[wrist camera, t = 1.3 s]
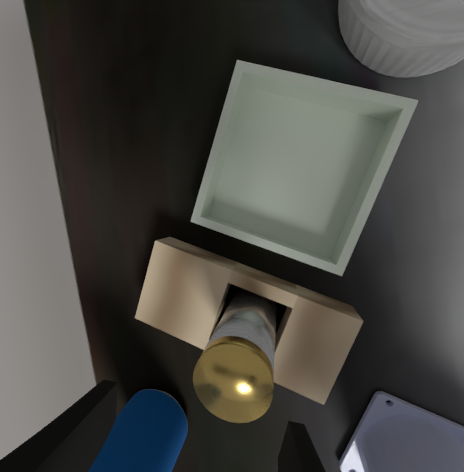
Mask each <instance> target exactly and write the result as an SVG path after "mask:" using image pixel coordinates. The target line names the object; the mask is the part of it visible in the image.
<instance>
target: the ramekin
mask: <svg viewBox="0 0 464 472" xmlns="http://www.w3.org/2000/svg"><path fill="white" fill-rule="evenodd" d="M338 16H339V26H340V31H341V34H342V36H343V39H344V42H345V44H346V45H347V47H348V49H349V51H350V52H351V53H352V54H353V56H354V57H355V58H356V59H357V60H359V61H360V62H361V63H362V64H363V65H365V66H366V67H368V68H369V69H371V70H373V71H375V72H377V73H380V74H383V75H386V76H393V77H404V78H408V77H419V76H423V75H428V74H432V73H434V72H437V71H442V70H444V69H446V68H448V67H449V66H453V65H455V64H457V63H458V62H460V61H462V60H463V59H464V0H339V5H338Z"/></svg>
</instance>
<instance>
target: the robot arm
mask: <svg viewBox="0 0 464 472" xmlns="http://www.w3.org/2000/svg"><path fill="white" fill-rule="evenodd" d="M117 387H118V383H117V382H113V381H108V380H102V381H101V382H100V383H99V384H97V385H96V386H95V387H94V388H93V389H91V390H90V391H89V392H88V393H87V394H85V395H84V396H83V397H82V398H81V399H79V400H78V401H77V402H76V403H74V404H73V405H72V406H71V407H69V408H68V409H67V410H66V411H65V412H63V413H62V414H61V415H60V416H58V417H57V418H56V419H54V421H52V422H51V423H49V424H48V425H47V426H45V427H44V428H43V429H42V430H41V431H39V432H38V433H36V434H35V435H34V436H32V437H31V438H30V439H28V440H27V441H26V442H24V443H23V444H22V445H20V446H19V447H18V448H16V449H15V450H13V451H12V452H11V453H9V454H8V455H7V456H6V457H4V458H3V459H1V460H0V472H88V471H89V469H90V468H91V466H92V464H93V463H94V461H95V459H96V458H97V456H98V454H99V453H100V451H101V449H102V447H103V445H104V443H105V441H106V439H107V437H108V435H109V433H110V431H111V429H112V427H113V425H114V423H115V420H116V404H117ZM388 400H390V402H386V401H388ZM339 466H340V470H341V471H342V472H464V426H462V425H460V424H457V423H455V422H453V421H450V420H448V419H446V418H443V417H441V416H439V415H436V414H434V413H432V412H429V411H427V410H425V409H422V408H420V407H418V406H416V405H413V404H411V403H409V402H406V401H404V400H402V399H399V398H397V397H395V396H392V395H390V394H388V393H385V392H383V391H377V392H375V394H374V395H373V397H372V399H371V401H370V403H369V405H368V407H367V409H366V411H365V413H364V414H363V416H362V418H361V420H360V422H359V424H358V426H357V428H356V430H355V432H354V434H353V436H352V438H351V440H350V441H349V443H348V445H347V447H346V449H345V451H344V453H343V455H342V457H341V459H340V461H339ZM278 472H325V469H324V467H323V465H322V463H321V461H320V459H319V456H318V454H317V452H316V450H315V447H314V445H313V443H312V441H311V438H310V436H309V434H308V431H307V429H306V427H305V425H304V424H300V423H295V422H291V421H288V425H287V429H286V432H285V436H284V439H283V443H282V446H281V450H280V453H279V457H278Z"/></svg>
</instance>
